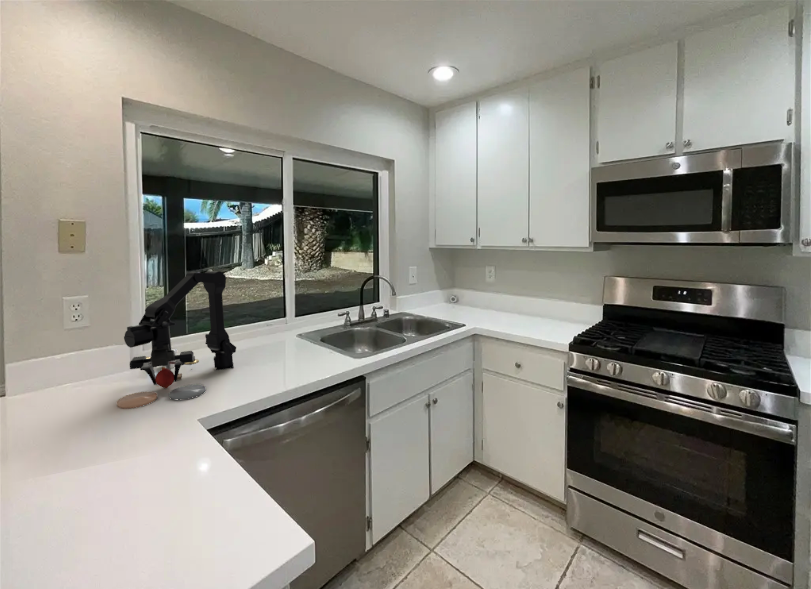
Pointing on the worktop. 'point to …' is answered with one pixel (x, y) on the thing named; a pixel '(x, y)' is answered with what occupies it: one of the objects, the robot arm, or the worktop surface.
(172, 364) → the white cylinder
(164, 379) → the onion
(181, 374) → the balance
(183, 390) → the slate dish
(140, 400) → the terracotta dish
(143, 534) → the worktop surface
